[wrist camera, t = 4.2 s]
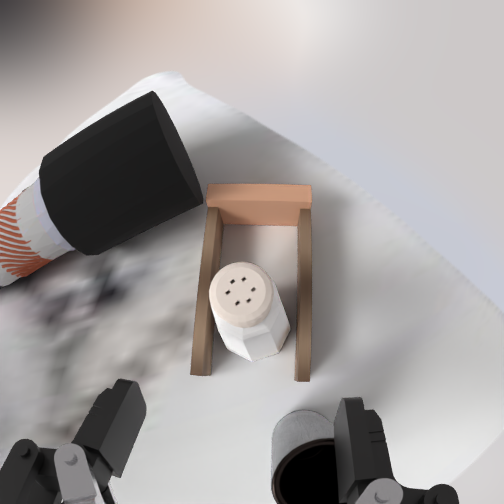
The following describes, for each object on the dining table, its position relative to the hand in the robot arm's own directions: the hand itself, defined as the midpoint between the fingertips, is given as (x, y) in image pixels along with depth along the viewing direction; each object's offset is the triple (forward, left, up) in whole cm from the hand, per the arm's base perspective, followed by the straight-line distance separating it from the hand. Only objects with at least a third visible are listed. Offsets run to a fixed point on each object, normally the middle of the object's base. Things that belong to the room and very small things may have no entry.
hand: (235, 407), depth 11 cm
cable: (-14, +20, -12) cm, 27 cm away
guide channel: (+4, +7, -11) cm, 14 cm away
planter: (+2, -5, -12) cm, 13 cm away
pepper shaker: (+2, +4, -12) cm, 13 cm away
